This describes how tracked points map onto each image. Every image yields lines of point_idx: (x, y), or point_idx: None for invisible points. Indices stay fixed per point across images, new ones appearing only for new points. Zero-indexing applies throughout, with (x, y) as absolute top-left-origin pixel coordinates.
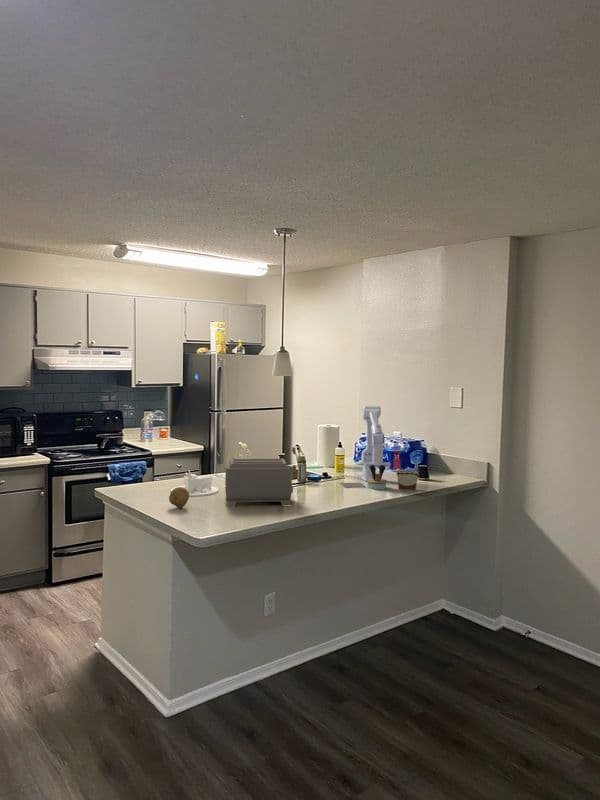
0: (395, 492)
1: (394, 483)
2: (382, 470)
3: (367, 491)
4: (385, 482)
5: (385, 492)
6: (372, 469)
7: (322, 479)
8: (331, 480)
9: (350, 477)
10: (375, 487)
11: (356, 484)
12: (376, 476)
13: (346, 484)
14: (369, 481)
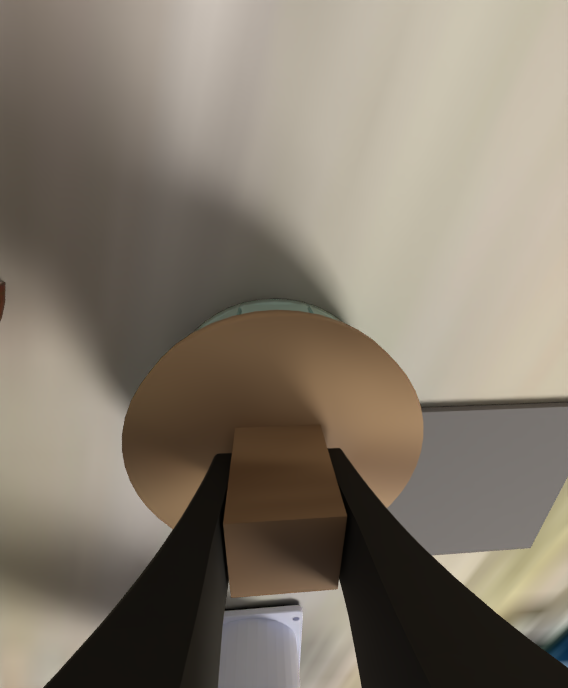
0: (59, 58)
1: (52, 556)
2: (143, 654)
3: (470, 193)
4: (164, 356)
5: (234, 81)
6: (552, 670)
7: (559, 626)
8: (522, 610)
9: (356, 673)
10: (325, 315)
11: (433, 500)
12: (312, 484)
13: (519, 499)
14: (417, 400)
